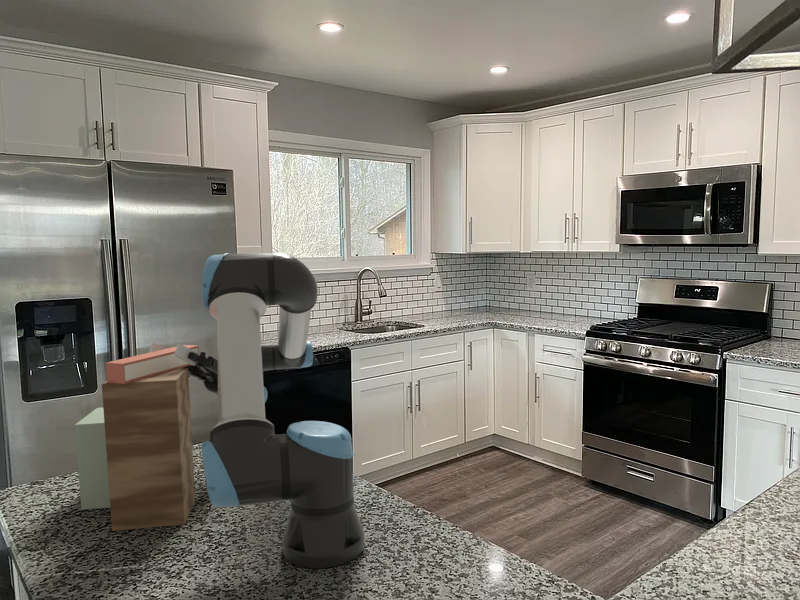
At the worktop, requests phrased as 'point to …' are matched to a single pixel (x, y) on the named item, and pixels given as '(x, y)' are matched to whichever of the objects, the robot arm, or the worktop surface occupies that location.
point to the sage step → (92, 461)
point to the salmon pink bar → (145, 365)
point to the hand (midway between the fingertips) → (164, 349)
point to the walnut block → (149, 451)
